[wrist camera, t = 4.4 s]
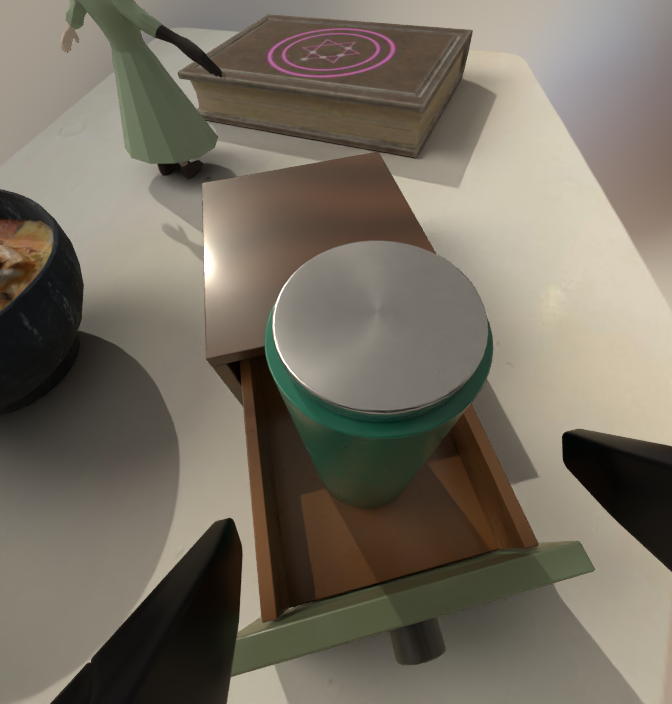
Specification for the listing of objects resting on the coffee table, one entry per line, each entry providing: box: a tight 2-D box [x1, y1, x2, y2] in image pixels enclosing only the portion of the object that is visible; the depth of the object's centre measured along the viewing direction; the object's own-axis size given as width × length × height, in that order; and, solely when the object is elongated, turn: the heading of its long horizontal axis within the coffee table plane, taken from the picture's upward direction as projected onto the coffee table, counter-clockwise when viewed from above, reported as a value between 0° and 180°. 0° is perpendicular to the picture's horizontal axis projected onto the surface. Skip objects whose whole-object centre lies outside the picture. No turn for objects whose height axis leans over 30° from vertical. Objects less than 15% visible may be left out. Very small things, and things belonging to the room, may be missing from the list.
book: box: [178, 14, 472, 158], centre depth 43 cm, size 30×22×5 cm
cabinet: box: [202, 152, 437, 406], centre depth 24 cm, size 16×14×7 cm
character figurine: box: [61, 0, 226, 178], centre depth 30 cm, size 16×8×18 cm, turn 73°
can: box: [264, 240, 493, 509], centre depth 13 cm, size 5×5×13 cm
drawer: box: [231, 355, 595, 677], centre depth 17 cm, size 17×14×5 cm
